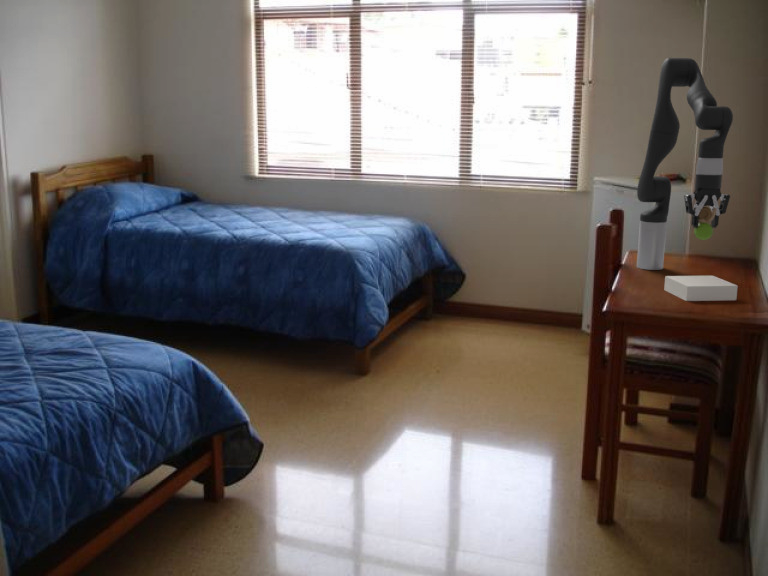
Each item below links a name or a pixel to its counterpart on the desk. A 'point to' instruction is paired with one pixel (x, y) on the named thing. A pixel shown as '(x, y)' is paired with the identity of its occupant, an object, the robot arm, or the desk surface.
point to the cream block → (700, 288)
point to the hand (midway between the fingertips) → (704, 227)
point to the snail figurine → (705, 223)
